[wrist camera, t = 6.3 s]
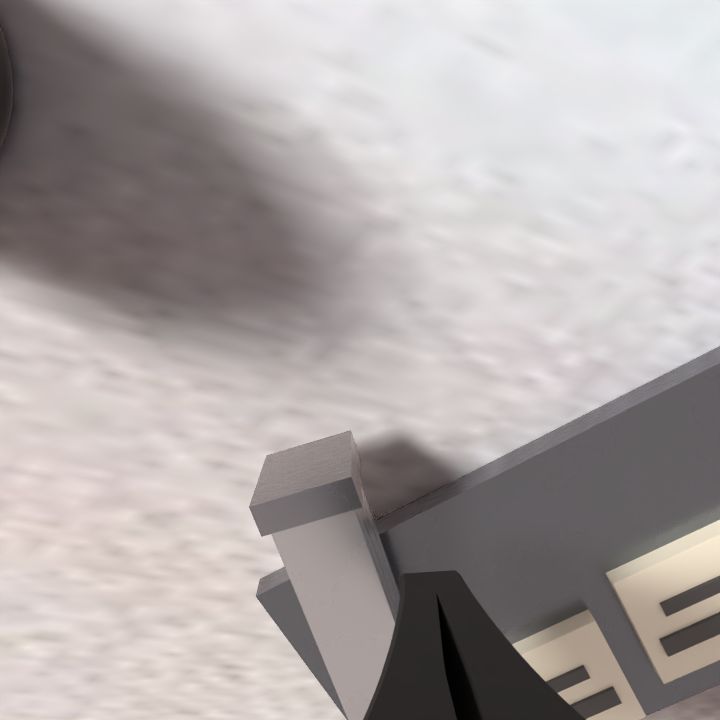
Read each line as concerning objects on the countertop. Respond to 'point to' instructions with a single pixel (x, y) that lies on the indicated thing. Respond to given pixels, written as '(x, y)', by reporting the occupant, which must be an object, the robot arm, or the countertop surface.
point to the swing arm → (332, 559)
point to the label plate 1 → (582, 669)
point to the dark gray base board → (563, 523)
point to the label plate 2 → (675, 602)
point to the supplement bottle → (5, 88)
